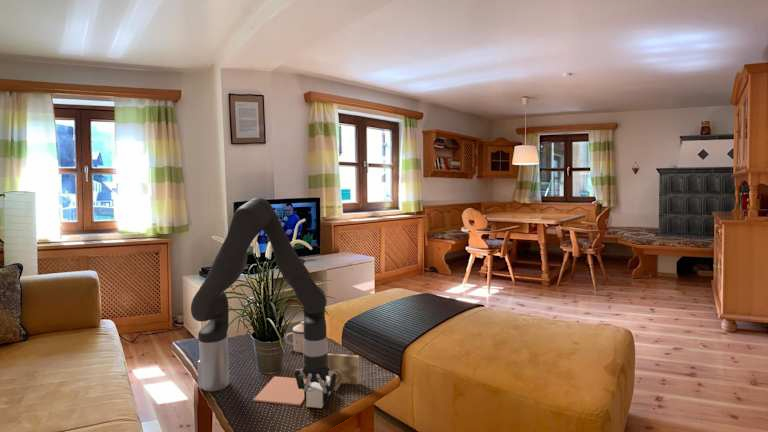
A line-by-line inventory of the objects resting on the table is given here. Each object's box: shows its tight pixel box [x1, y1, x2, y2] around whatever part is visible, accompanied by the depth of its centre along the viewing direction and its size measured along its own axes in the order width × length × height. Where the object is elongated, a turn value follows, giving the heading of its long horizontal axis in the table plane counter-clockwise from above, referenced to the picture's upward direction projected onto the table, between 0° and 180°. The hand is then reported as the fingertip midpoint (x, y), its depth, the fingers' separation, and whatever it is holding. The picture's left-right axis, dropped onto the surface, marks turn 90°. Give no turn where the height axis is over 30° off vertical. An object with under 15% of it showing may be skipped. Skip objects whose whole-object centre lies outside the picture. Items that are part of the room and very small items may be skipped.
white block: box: [305, 376, 332, 409], centre depth 143 cm, size 5×11×5 cm, turn 170°
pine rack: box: [302, 352, 360, 393], centre depth 152 cm, size 20×7×10 cm, turn 80°
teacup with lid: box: [284, 320, 304, 354], centre depth 182 cm, size 12×9×12 cm
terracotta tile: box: [252, 375, 312, 407], centre depth 149 cm, size 16×16×1 cm
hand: (316, 401), depth 140 cm, fingers closed on white block, 5 cm apart
